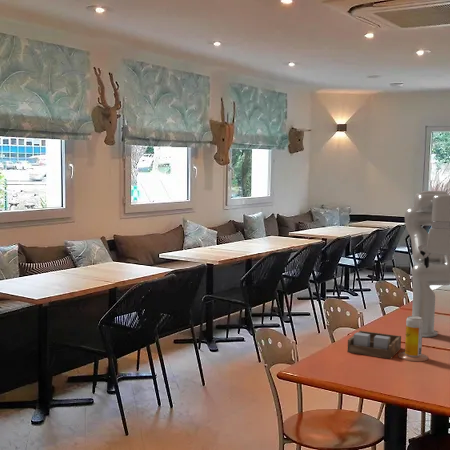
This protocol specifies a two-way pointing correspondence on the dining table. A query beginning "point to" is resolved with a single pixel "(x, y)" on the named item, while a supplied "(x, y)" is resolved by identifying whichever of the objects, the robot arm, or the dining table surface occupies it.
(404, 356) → the coaster
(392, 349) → the rack
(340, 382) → the dining table surface
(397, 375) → the dining table surface
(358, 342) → the offcut
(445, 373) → the dining table surface
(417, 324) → the beer can
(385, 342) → the offcut
